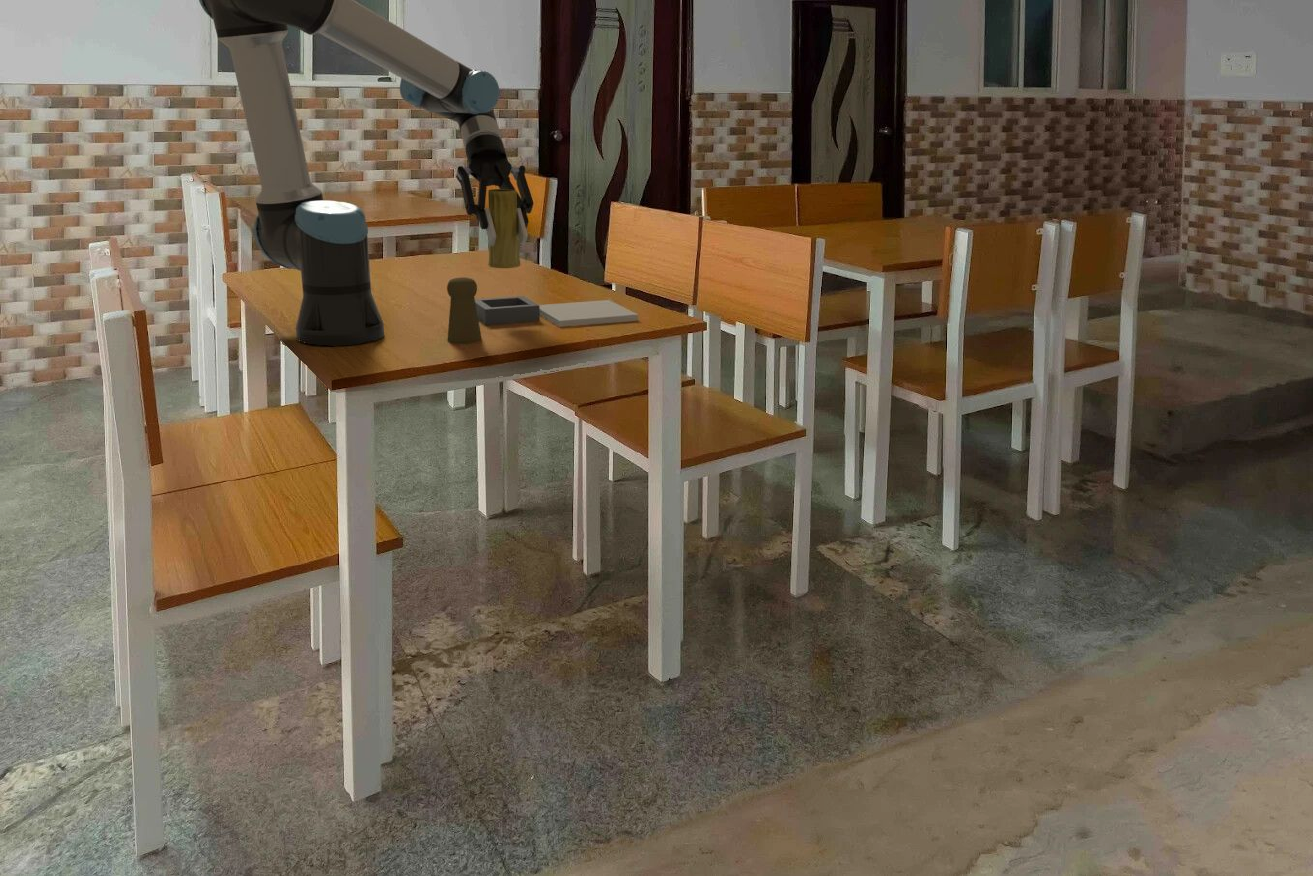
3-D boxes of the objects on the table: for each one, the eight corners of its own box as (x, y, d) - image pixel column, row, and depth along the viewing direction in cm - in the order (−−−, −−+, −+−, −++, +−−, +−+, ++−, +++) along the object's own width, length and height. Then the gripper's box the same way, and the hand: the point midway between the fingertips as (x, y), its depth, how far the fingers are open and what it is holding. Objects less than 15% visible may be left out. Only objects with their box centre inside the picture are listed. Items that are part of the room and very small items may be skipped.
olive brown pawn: (466, 334, 201) (463, 274, 198) (488, 339, 198) (486, 277, 194) (440, 340, 197) (436, 278, 193) (463, 345, 193) (460, 282, 190)
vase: (482, 267, 211) (479, 190, 207) (498, 262, 217) (496, 188, 212) (510, 269, 209) (508, 192, 205) (526, 264, 214) (524, 189, 210)
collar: (485, 325, 209) (485, 309, 208) (472, 314, 218) (471, 299, 217) (539, 320, 213) (539, 305, 212) (523, 310, 222) (523, 295, 221)
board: (559, 326, 208) (559, 320, 207) (534, 311, 222) (533, 305, 221) (638, 320, 214) (638, 314, 213) (608, 305, 228) (608, 299, 227)
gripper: (525, 158, 224) (551, 250, 214) (434, 159, 217) (457, 254, 207) (532, 132, 218) (560, 226, 208) (439, 132, 211) (463, 229, 201)
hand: (509, 240), depth 208 cm, fingers closed on vase, 5 cm apart
